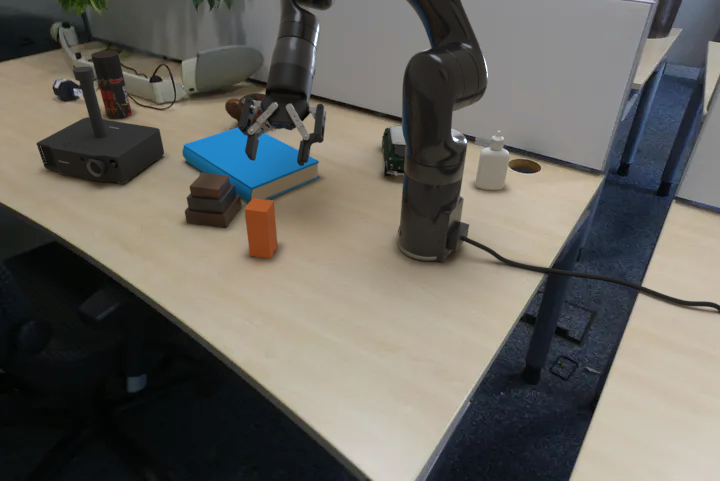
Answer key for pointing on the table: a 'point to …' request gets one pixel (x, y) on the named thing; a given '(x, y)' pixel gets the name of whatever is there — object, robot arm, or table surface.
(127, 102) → the deodorant
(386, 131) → the miniature car
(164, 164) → the table surface
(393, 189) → the table surface
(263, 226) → the bar
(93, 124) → the projector
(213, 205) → the brown stepped pyramid
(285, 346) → the table surface
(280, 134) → the table surface
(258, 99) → the decorative turtle
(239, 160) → the book
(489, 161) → the eye dropper bottle
